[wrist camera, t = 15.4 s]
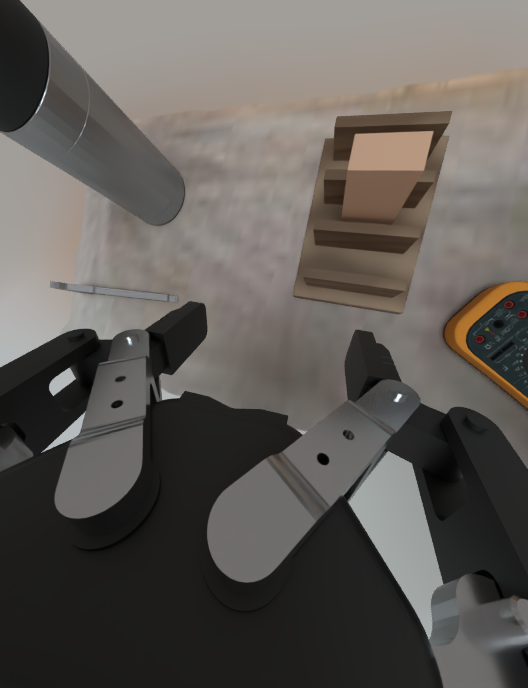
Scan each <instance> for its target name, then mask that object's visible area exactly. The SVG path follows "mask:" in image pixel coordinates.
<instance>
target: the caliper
mask: <svg viewBox="0 0 528 688" xmlns="http://www.w3.org/2000/svg"><path fill="white" fill-rule="evenodd" d="M50 287H51V288H56V289H61V290H67V291H73V292H79V293H88V294H102V295H113V296H122V297H131V298H140V299H149V300H158V301H167V302H177V303H178V296H172V295H165V294H156V293H147V292H138V291H129V290H119V289H110V288H101V287H94V286H85V285H76V284H66V283H61V282H53V281H50Z"/></svg>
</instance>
